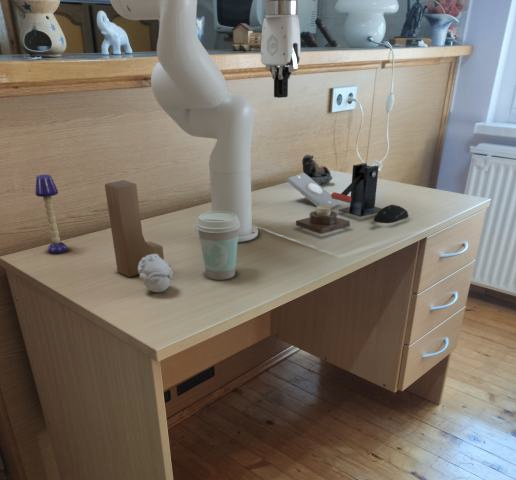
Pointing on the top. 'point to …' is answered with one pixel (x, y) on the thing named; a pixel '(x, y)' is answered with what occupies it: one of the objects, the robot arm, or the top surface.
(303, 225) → the button block
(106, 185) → the wooden block
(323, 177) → the bison figurine
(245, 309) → the top surface
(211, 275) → the coffee cup
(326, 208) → the button
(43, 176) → the toy lamp
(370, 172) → the bracket
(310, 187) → the light switch
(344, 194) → the lever
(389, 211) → the gaming mouse
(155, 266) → the frog figurine
